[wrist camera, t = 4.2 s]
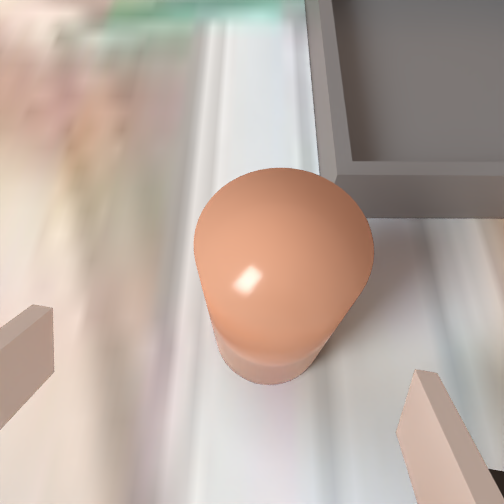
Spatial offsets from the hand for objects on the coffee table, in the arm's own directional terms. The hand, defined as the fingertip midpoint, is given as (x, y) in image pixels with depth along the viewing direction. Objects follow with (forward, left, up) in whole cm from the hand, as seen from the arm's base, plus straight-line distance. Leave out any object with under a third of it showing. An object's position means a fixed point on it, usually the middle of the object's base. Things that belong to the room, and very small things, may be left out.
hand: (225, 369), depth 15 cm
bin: (-17, -24, -10) cm, 31 cm away
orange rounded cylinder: (-2, -4, -10) cm, 11 cm away
